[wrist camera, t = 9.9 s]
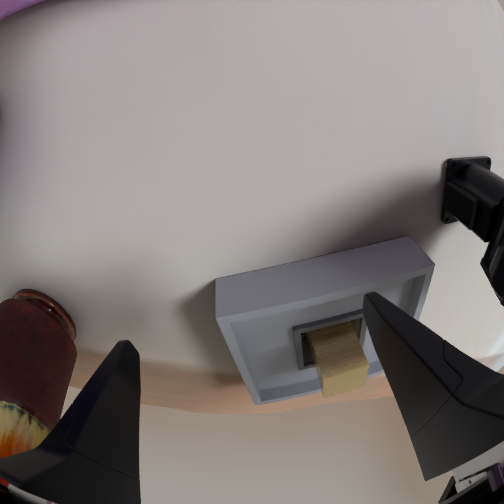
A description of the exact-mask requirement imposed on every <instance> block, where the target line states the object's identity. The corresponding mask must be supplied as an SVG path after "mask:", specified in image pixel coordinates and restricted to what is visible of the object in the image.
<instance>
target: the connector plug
mask: <svg viewBox="0 0 504 504" xmlns="http://www.w3.org/2000/svg"><path fill="white" fill-rule="evenodd" d="M305 333H306V337H307V341H308V344H309V348H310V351H311V354H312V358H313V361H314V365H315V369H316V372H317V376H318V379H319V383H320V386H321V390H322V394H323V397H324V398H326V397H329V396H333V395H336V394H340V393H343V392H346V391H350V390H353V389H356V388H359V387H362V386H365V382H366V377H367V373H368V368H369V363H368V361H367V358H366V356H365V354H364V351H363V349H362V347H361V344H360V342H359V340H358V337H357V335H356V333H355V330H354V328H353V326H352V324H351V321H348V322H344V323H340V324H336V325H333V326H329V327H325V328H321V329H317V330H313V331H309V332H305Z"/></svg>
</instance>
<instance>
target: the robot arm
mask: <svg viewBox="0 0 504 504" xmlns="http://www.w3.org/2000/svg"><path fill="white" fill-rule="evenodd" d="M452 164H453V165H452ZM490 167H491V159H490V158H489V157H487V156H483V157H466V158H452V159H450V160H449V161H448V164H447V176H446V186H445V194H444V202H443V209H442V216H441V221H442V222H443V223H444V224H448V223H452V222H456V221H460V222H461V223H462V224H463V225H464V226H465V227H466V228H468V229H469V230H472V231H473V232H474V233H475V234H476V235H477V236H478V237H479V238H480V239H481V240H483V241H484V242H485V243H486V242H488V243H489V244H488V247H487V249H486V252H485V254H484V257H483V258H482V259H481V262H480V265H481V266H482V268H483V270H484V272H485V274H486V276H487V278H488V280H489V282H490V283H491V286H492V288H493V290H494V292H495V294H496V295H497V297H498V299H499V300H500V301H501V302H500V303H501V305H503V306H504V179H503V178H501V177H500V176H498V175H497V174H495V173H493V172H492V171H490ZM362 312H363V316H364V319H365V322H366V325H367V328H368V331H369V334H370V337H371V340H372V343H373V346H374V349H375V352H376V354H377V356H378V358H379V361H380V363H381V365H382V368H383V370H384V372H385V375H386V377H387V379H388V382H389V384H390V386H391V389H392V391H393V394H394V396H395V399H396V401H397V404H398V406H399V409H400V411H401V414H402V416H403V419H404V422H405V424H406V427H407V430H408V432H409V435H410V438H411V441H412V444H413V446H414V449H415V452H416V455H417V458H418V461H419V464H420V467H421V470H422V473H423V477H424V479H425V481H427V480H430V479H432V478H435V477H437V476H439V475H441V474H444V473H446V472H448V471H450V470H452V472H453V475H454V476H452V477H451V479H450V480H449V483H448V485H447V487H446V489H445V491H444V493H443V495H442V496H441V498H440V500H439V502H438V503H439V504H504V374H500V373H497V372H495V371H493V370H492V369H490V368H488V367H486V366H485V365H483V364H481V363H480V362H478V361H476V360H475V359H473V358H471V357H469V356H468V355H466V354H465V353H463V352H461V351H460V350H458V349H457V348H456V347H454V346H453V345H451V344H450V343H449V342H447V341H446V340H443V338H441V337H440V336H439V335H437V334H436V333H435V332H433V331H432V330H430V329H429V328H428V327H426V326H425V325H423V324H422V323H421V322H419V321H418V320H416V319H415V318H413V317H412V316H411V315H409V314H408V313H406V312H405V311H403V310H402V309H400V308H399V307H398V306H396V305H395V304H393V303H392V302H390V301H389V300H387V299H386V298H384V297H383V296H382V295H380V294H379V293H377V292H375V291H372V292H369V293H365V294H364V298H363V307H362ZM140 394H141V384H140V356H139V353H138V351H137V350H136V348H135V347H134V346H133V344H132V343H131V342H130V341H129V340H121V341H119V342H118V343H117V344H116V345H115V347H114V348H113V349H112V350H111V352H110V353H109V354H108V356H107V357H106V358H105V360H104V361H103V362H102V363H101V365H100V366H99V367H98V369H97V370H96V371H95V373H94V374H93V375H92V377H91V378H90V379H89V381H88V382H87V384H86V385H85V386H84V388H83V389H82V391H81V392H80V393H79V394H78V396H77V397H76V399H75V400H74V401H73V404H71V406H70V407H69V408H68V410H67V411H66V413H65V414H64V415H63V417H62V418H61V419H60V420H59V422H58V423H57V424H56V425H55V427H54V428H53V429H52V430H51V431H50V433H49V434H48V435H47V436H46V437H45V439H44V440H43V441H42V442H41V443H40V444H39V445H38V446H37V447H35V448H34V449H31V450H28V451H25V452H22V453H18V454H14V455H11V456H7V457H3V458H0V478H1V479H3V480H4V481H6V482H8V483H9V487H8V486H6V485H3V484H1V483H0V504H141V497H140V480H139V479H140V478H139V416H140V415H139V414H140Z"/></svg>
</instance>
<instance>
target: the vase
mask: <svg viewBox="0 0 504 504" xmlns="http://www.w3.org/2000/svg"><path fill="white" fill-rule="evenodd" d="M75 337H76V327H75V325H74V322H73V320H72V319H71V317H70V316H69V314H68V313H67V312H66V311H65V310H64V309H63V308H62V307H61V306H60V305H59V304H58V303H57V302H56V301H54V300H53V299H52V298H50V297H49V296H47V295H45V294H43V293H41V292H39V291H36V290H32V289H22V290H20V291H18V292H17V293H16V294H15V296H14V298H13V299H7V300H5V301H3V302H2V303H1V304H0V458H3V457H7V456H11V455H14V454H18V453H22V452H25V451H28V450H31V449H34V448H35V447H37V446H38V445H39V444H40V443H41V442H42V441H43V440H44V439H45V437H46V436H47V435H48V434H49V433H50V431H51V430H52V429H53V428H54V427H55V425H56V424H57V423H58V422H59V420H60V417H61V413H62V409H63V405H64V400H65V397H66V393H67V389H68V386H69V382H70V379H71V375H72V372H73V368H74V365H75V361H76V358H77V351H76V347H75V344H74V342H73V341H74V339H75ZM0 483H1V484H3V485H6V486H8V487H9V483H8V482H6V481H4V480H3V479H1V478H0Z"/></svg>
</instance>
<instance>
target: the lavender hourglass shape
mask: <svg viewBox="0 0 504 504" xmlns="http://www.w3.org/2000/svg"><path fill="white" fill-rule="evenodd" d="M43 1H46V0H0V20H2V19H4V18H6V17H8V16H10V15H12V14H14V13H16V12H19V11H21V10H23V9H26V8H28V7H30V6H33V5H35V4H38V3H41V2H43Z"/></svg>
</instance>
